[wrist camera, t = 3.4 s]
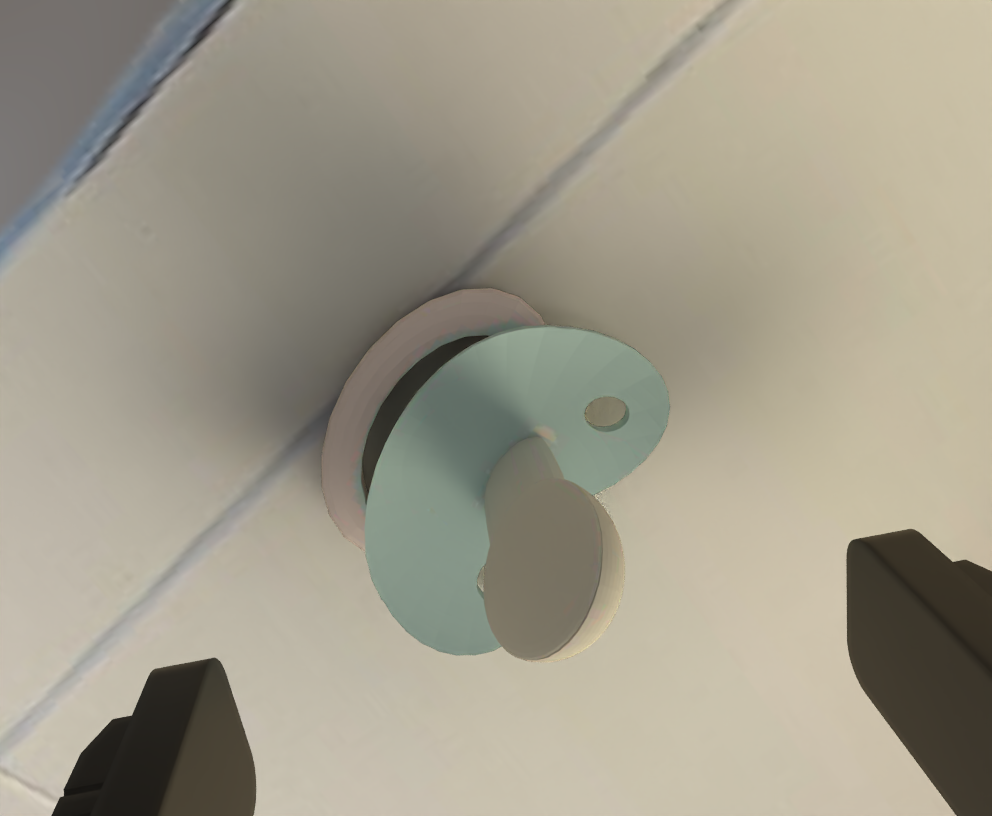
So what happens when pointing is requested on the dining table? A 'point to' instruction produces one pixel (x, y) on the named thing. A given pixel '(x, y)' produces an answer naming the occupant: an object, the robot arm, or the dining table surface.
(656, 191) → the dining table surface
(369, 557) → the pacifier
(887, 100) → the dining table surface
